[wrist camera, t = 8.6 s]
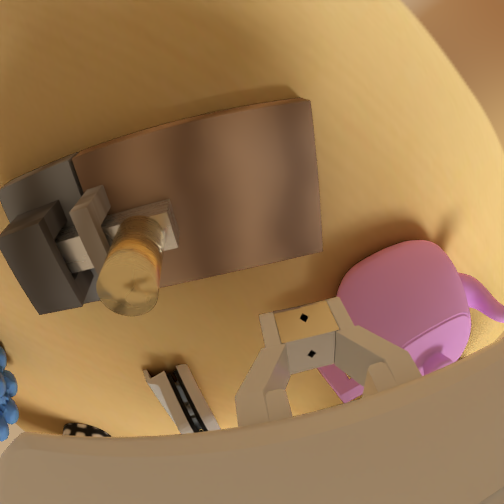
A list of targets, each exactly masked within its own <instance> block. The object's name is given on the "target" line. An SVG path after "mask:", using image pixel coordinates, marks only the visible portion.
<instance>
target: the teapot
mask: <svg viewBox="0 0 504 504" xmlns="http://www.w3.org/2000/svg"><path fill="white" fill-rule="evenodd" d="M336 297H339V298H340V299H341V301H342V303H343V305H344V307H345V309H346V311H347V313H348V314H349V316H350V318H351V320H352V322H353V324H354V326H357V325H359V326H361V327H363V328H365V329H366V330H368V331H370V332H372V333H374V334H376V335H378V336H380V337H382V338H383V339H385V340H387V341H389V342H391V343H393V344H395V345H397V346H399V347H400V348H402V349H404V350H406V351H408V352H409V354H410V356H411V357H412V359H413V361H414V362H415V364H416V366H417V368H418V369H419V371H420V373H421V375H422V376H424V375H426V374H429V373H431V372H433V371H436V370H438V369H440V368H443V367H445V366H447V365H449V364H452V363H454V362H456V361H457V360H458V359H459V357H460V356H461V354H462V353H463V351H464V349H465V347H466V345H467V342H468V339H469V336H470V331H471V317H470V311H469V307H471V308H474V309H477V310H479V311H480V312H482V313H483V314H485V315H486V316H488V317H489V318H491V319H493V320H495V321H498V322H502V323H504V306H503V305H502V304H500V303H499V302H498V301H497V300H496V299H495V298H494V297H493V296H492V295H491V294H490V293H489V291H488V290H487V289H486V288H485V287H484V286H483V285H482V284H481V283H480V282H479V281H478V280H477V279H475V278H474V277H472V276H470V275H467V274H463V273H458V272H457V270H456V268H455V266H454V265H453V263H452V261H451V260H450V258H449V257H448V256H447V254H446V253H445V252H444V251H443V250H442V249H441V248H440V247H439V246H438V245H437V244H435V243H433V242H431V241H426V240H410V241H405V242H401V243H398V244H395V245H392V246H390V247H387V248H385V249H382V250H380V251H378V252H376V253H374V254H372V255H370V256H369V257H367V258H365V259H363V260H362V261H360V262H359V263H357V264H356V265H354V266H353V267H352V268H351V269H350V270H349V271H348V272H347V273H346V274H345V276H344V278H343V279H342V282H341V284H340V286H339V289H338V292H337V296H336ZM317 369H318V370H319V372H320V373H321V374H322V376H323V377H324V378H325V379H326V381H327V382H328V383H329V385H330V386H331V387H332V389H333V390H334V391H335V392H336V394H337V395H338V396H339V398H340V399H341V400H342V401H343V403H347V402H349V401H351V400H352V399H354V398H356V397H358V396H360V395H361V394H363V390H364V387H363V386H362V385H360V384H359V383H358V382H356V381H355V380H354V379H352V378H351V379H348V377H347V376H346V374H345V372H343V371H342V370H341V369H339V368H338V367H337V366H336V365H335V364H331V365H327V366H323V367H319V368H317Z"/></svg>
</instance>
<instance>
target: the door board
mask: <svg viewBox="0 0 504 504" xmlns="http://www.w3.org/2000/svg"><path fill="white" fill-rule="evenodd" d="M166 199H170V202H171V205H172V208H173V212H174V215H175V218H176V221H177V225H178V228H179V231H180V234H179V245H178V248H175V249H170V250H166V251H164V254H163V261H162V269H161V276H160V284H159V288H161V287H166V286H171V285H175V284H180V283H184V282H189V281H194V280H198V279H203V278H207V277H212V276H216V275H221V274H225V273H230V272H234V271H239V270H243V269H248V268H252V267H257V266H261V265H265V264H270V263H274V262H279V261H283V260H287V259H292V258H296V257H300V256H305V255H309V254H313V253H318V252H322V251H323V244H322V225H321V209H320V194H319V181H318V169H317V158H316V148H315V138H314V128H313V119H312V111H311V103H310V100H307V99H303V98H293V99H286V100H279V101H272V102H266V103H259V104H253V105H248V106H242V107H237V108H232V109H227V110H222V111H217V112H212V113H208V114H203V115H199V116H194V117H190V118H186V119H182V120H178V121H174V122H170V123H167V124H163V125H159V126H156V127H152V128H149V129H145V130H142V131H138V132H135V133H132V134H129V135H125V136H122V137H119V138H116V139H113V140H110V141H107V142H104V143H101V144H98V145H96V146H93V147H90V148H87V149H84V150H82V151H81V152H79V153H78V152H76V153H74V154H71V155H69V156H66V157H64V158H61V159H59V160H56V161H54V162H51V163H49V164H47V165H44V166H42V167H40V168H37V169H35V170H33V171H31V172H28V173H26V174H24V175H22V176H20V177H17V178H15V179H13V180H11V181H9V182H8V183H7V184H5V185H4V186H3V187H2V188H0V201H1V204H2V206H3V208H4V211H5V213H6V215H7V217H8V220H9V222H10V224H9V225H8V226H7V227H6V228H5V229H4V231H3V232H2V233H1V234H0V250H1V252H2V254H3V256H4V257H5V259H6V261H7V263H8V265H9V266H10V268H11V270H12V272H13V273H14V275H15V277H16V279H17V280H18V282H19V284H20V285H21V287H22V289H23V290H24V292H25V293H26V295H27V297H28V298H29V300H30V301H31V303H32V304H33V306H34V307H35V309H36V310H37V312H38V313H39V315H42V314H47V313H52V312H57V311H62V310H67V309H72V308H77V307H82V306H83V304H85V303H90V302H94V301H99V300H100V299H99V297H98V294H97V290H96V284H97V280H98V277H99V274H100V272H101V269H102V267H103V264H104V261H105V259H106V256H107V254H108V251H109V249H110V246H109V244H108V241H107V239H106V237H105V234H104V232H103V230H102V227H101V224H102V222H103V220H104V219H105V217H106V216H107V215H111V214H114V213H118V212H121V211H125V210H128V209H132V208H136V207H139V206H143V205H147V204H151V203H154V202H158V201H162V200H166ZM74 225H75V228H76V230H77V232H78V235H79V237H80V239H81V241H82V243H83V245H84V248H85V250H86V252H87V254H88V256H89V258H90V260H91V262H92V264H93V266H94V268H91V269H87V270H83V271H79V272H75V273H71V272H70V270H69V269H68V267H67V265H66V263H65V261H64V259H63V257H62V255H61V253H60V251H59V249H58V247H57V245H56V243H55V241H54V239H55V237H56V236H57V234H58V233H59V231H60V230H61V229H64V228H68V227H71V226H74Z"/></svg>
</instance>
